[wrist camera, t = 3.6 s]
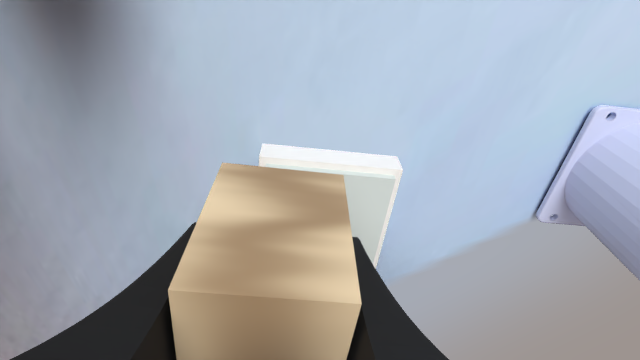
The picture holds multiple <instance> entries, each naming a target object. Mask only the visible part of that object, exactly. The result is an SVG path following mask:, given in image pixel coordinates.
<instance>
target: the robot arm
mask: <svg viewBox="0 0 640 360" xmlns="http://www.w3.org/2000/svg"><path fill="white" fill-rule="evenodd" d="M610 113H611V115H610V116H609V117H608V118H606V117H607V115H608V114H610ZM553 214H554V215H553ZM551 215H553V216H551ZM550 216H551V217H550ZM536 218H537V219H538V220H539V221H540V222H545V223H556V224H569V225H580V226H586V227H587V228H588V229H589V230H590V231H591V232H592V233H593V234H594V235H595V236H596V237H597V238H598V239H599V240H600V241H601V242H602V243H603V244H604V245H605V246H606V247H607V248H608V249H609V250H610V251H611V252H612V253H613V254H614V255H615V256H616V257H617V258H618V259H619V260H620V261H621V262H622V263H623V264H624V265H625V266H626V267H627V268H628V269H629V270H630V271H631V272H632V273H633V274H634V275H635V276H636V277H637V278H638V279H639V280H640V109H635V108H626V107H617V106H608V105H599V106H597V107H595V108H594V109H592V111H591V112H590V114H589V116H588V118H587V119H586V121H585V123H584V125H583V127H582V129H581V131H580V132H579V134H578V136H577V138H576V140H575V142H574V144H573V146H572V147H571V149H570V151H569V153H568V155H567V157H566V159H565V161H564V162H563V164H562V166H561V168H560V170H559V172H558V174H557V175H556V177H555V179H554V181H553V183H552V185H551V187H550V189H549V190H548V192H547V194H546V196H545V198H544V200H543V202H542V204H541V205H540V207H539V209H538V211H537V213H536ZM195 225H196V222H195V223H194V224H192V225H191V226H190V227H189V228H188V230H187V231H186V232H185V233H184V234H183V235H182V236H181V237H180V238H179V239H178V241H177V242H176V243H175V244H174V245H173V246H172V247H171V248H170V249H169V250H168V251H167V252H166V253H165V254H164V255H163V256H162V257H161V258H160V259H159V260H158V261H157V262H156V263H155V264H153V265H152V266H151V267H150V268H149V269H148V270H147V271H146V272H145V273H143V274H142V275H141V276H140V277H139V278H138V279H137V280H135V281H134V282H133V283H132V284H131V285H129V286H128V287H127V288H126V289H124V290H123V291H122V292H121V293H119V294H118V295H117V296H115V297H114V298H113V299H111V300H110V301H109V302H107V303H106V304H104V305H103V306H102V307H100V308H99V309H97V310H96V311H94V312H93V313H91V314H90V315H89V316H87V317H85V318H84V319H82V320H81V321H79V322H78V323H76V324H75V325H73V326H71V327H69V328H68V329H66V330H64V331H63V332H61V333H59V334H58V335H56V336H54V337H52V338H51V339H49V340H47V341H45V342H44V343H42V344H40V345H38V346H36V347H34V348H32V349H30V350H28V351H26V352H24V353H22V354H20V355H18V356H16V357H14V358H12V359H10V360H177V358H176V351H175V343H174V335H173V327H172V319H171V311H170V303H169V295H168V289H169V286H170V284H171V282H172V279H173V277H174V275H175V272H176V270H177V268H178V265H179V263H180V261H181V258H182V256H183V254H184V251H185V249H186V247H187V244H188V242H189V240H190V237H191V235H192V233H193V230H194V228H195ZM352 239H353V246H354V253H355V260H356V267H357V274H358V281H359V288H360V296H361V303H362V305H361V308H360V312H359V316H358V319H357V323H356V327H355V330H354V334H353V337H352V341H351V345H350V348H349V352H348V356H347V359H346V360H449V359H448V358H447V357H445V356H444V355H443V354H442V353H441V352H440V351H439V350H438V349H437V348H436V347H435V346H434V345H433V343H431V341H430V340H428V339H427V338H426V336H424V334H423V333H422V332H421V331H420V330H419V329H418V328H417V326H416V325H415V324H414V323H413V322H412V320H411V319H410V318H409V317H408V316H407V314H406V313H405V312H404V310H403V309H402V308H401V307H400V305H399V304H398V302H397V301H396V300H395V298H394V297H393V295H392V294H391V293H390V291H389V290H388V288H387V287H386V285H385V284H384V282H383V280H382V279H381V277H380V275H379V274H378V272H377V271H376V269H375V267H374V266H373V264H372V262H371V260H370V258H369V257H368V255H367V253H366V251H365V249H364V247H363V245H362V243H361V241H360V239H359V238H358V237H352Z"/></svg>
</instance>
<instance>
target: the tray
mask: <svg viewBox="0 0 640 360" xmlns="http://www.w3.org/2000/svg"><path fill="white" fill-rule="evenodd" d="M259 166H260V167H270V168H280V169H290V170H300V171H310V172H320V173H330V174H340V175H344V182H345V189H346V196H347V203H348V210H349V218H350V225H351V232H352V237H358V238H359V239H360V241H361V243H362V245H363V247H364V249H365V251H366V253H367V255H368V257H369V258H370V260H371V262H372V264H373V266H374V267H375V269H376V266H377V262H378V259H379V255H380V251H381V248H382V244H383V241H384V237H385V233H386V230H387V226H388V222H389V219H390V215H391V211H392V208H393V204H394V201H395V197H396V193H397V190H398V186H399V182H400V179H401V175H402V172H403V169H402V167H401V164H400V162H399V159H398V157H397V156H388V155H378V154H367V153H357V152H347V151H336V150H326V149H316V148H306V147H295V146H285V145H275V144H265V143H262V147H261V151H260V155H259Z"/></svg>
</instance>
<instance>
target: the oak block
mask: <svg viewBox="0 0 640 360" xmlns="http://www.w3.org/2000/svg"><path fill="white" fill-rule="evenodd" d="M168 295H169V303H170V311H171V319H172V327H173V335H174V343H175V351H176V358H177V360H346V359H347V356H348V352H349V348H350V345H351V341H352V337H353V334H354V330H355V327H356V323H357V319H358V316H359V312H360V308H361V305H362V303H361V296H360V288H359V281H358V274H357V267H356V260H355V253H354V246H353V239H352V232H351V225H350V218H349V210H348V203H347V196H346V189H345V182H344V175H340V174H330V173H320V172H310V171H300V170H290V169H280V168H270V167H260V166H250V165H240V164H231V163H222V165H221V167H220V169H219V172H218V174H217V176H216V179H215V181H214V183H213V186H212V188H211V190H210V193H209V195H208V197H207V200H206V202H205V204H204V207H203V209H202V211H201V214H200V216H199V218H198V221H197V223H196V225H195V228H194V230H193V233H192V235H191V237H190V240H189V242H188V244H187V247H186V249H185V251H184V254H183V256H182V258H181V261H180V263H179V265H178V268H177V270H176V272H175V275H174V277H173V279H172V282H171V284H170V286H169V289H168Z"/></svg>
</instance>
